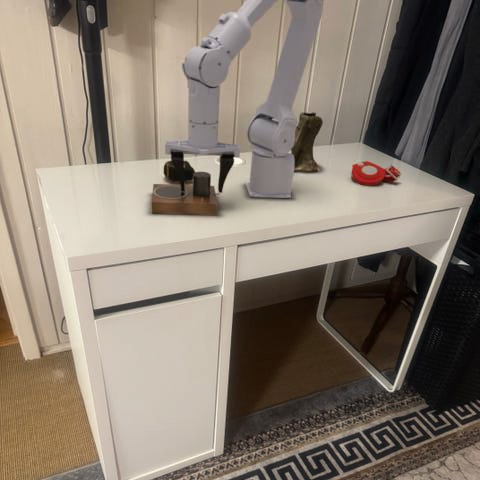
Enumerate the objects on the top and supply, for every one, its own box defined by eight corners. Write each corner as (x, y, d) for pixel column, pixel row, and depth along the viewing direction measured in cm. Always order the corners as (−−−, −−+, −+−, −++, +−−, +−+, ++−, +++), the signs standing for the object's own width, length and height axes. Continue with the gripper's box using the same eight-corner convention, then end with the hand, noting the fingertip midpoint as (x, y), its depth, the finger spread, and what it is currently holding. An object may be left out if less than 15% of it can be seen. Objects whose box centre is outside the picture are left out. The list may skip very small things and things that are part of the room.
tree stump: (295, 158, 129) (302, 106, 121) (325, 167, 125) (335, 114, 117) (275, 166, 123) (282, 112, 115) (307, 176, 118) (316, 120, 110)
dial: (192, 190, 97) (192, 169, 95) (209, 190, 98) (210, 170, 95) (193, 196, 94) (193, 175, 92) (210, 197, 95) (211, 176, 92)
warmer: (217, 196, 102) (218, 185, 100) (221, 215, 94) (222, 202, 92) (153, 195, 100) (153, 182, 99) (152, 213, 92) (151, 200, 91)
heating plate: (187, 187, 98) (187, 185, 98) (188, 199, 93) (188, 198, 93) (154, 186, 98) (154, 184, 97) (152, 198, 92) (152, 197, 92)
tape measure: (196, 184, 107) (196, 168, 105) (166, 185, 105) (166, 169, 103) (189, 174, 113) (189, 158, 110) (161, 175, 111) (161, 159, 108)
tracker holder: (364, 183, 113) (343, 161, 119) (361, 198, 117) (341, 175, 122) (407, 170, 115) (385, 148, 121) (402, 184, 119) (381, 163, 125)
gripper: (164, 123, 84) (165, 196, 91) (243, 128, 85) (238, 198, 93) (165, 114, 89) (166, 183, 97) (239, 118, 91) (234, 186, 99)
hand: (201, 190), depth 96 cm, fingers open, 7 cm apart
